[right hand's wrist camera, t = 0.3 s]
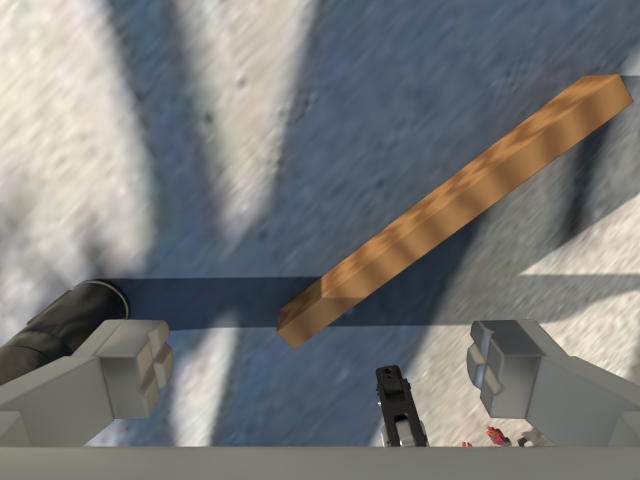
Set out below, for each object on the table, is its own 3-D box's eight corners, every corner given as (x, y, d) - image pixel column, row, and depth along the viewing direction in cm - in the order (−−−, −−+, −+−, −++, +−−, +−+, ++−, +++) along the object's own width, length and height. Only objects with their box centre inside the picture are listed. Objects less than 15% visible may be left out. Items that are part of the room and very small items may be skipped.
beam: (582, 75, 51) (619, 73, 45) (596, 100, 52) (634, 101, 46) (280, 308, 64) (275, 332, 57) (296, 325, 65) (294, 350, 58)
